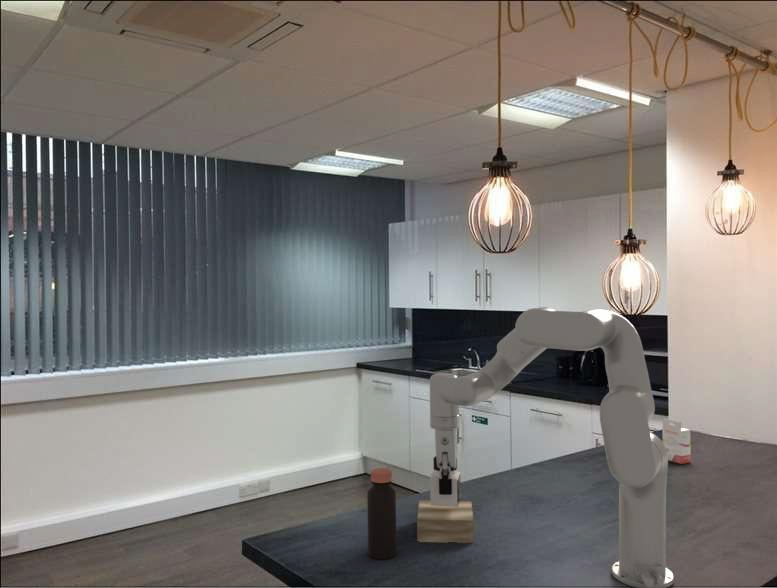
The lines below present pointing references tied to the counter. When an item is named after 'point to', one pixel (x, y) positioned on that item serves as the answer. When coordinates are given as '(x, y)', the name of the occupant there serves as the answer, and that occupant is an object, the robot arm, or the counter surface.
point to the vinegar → (381, 515)
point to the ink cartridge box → (676, 442)
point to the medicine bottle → (434, 487)
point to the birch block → (445, 523)
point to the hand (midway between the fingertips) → (445, 488)
